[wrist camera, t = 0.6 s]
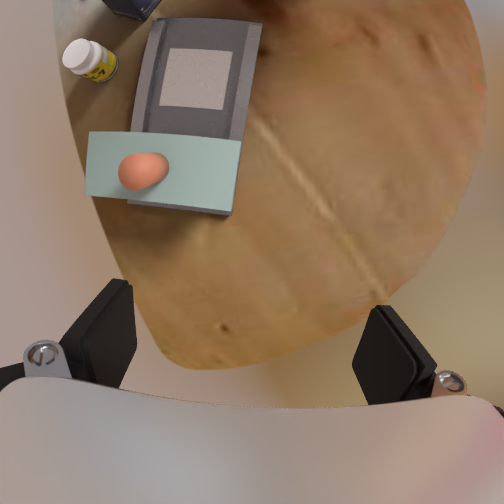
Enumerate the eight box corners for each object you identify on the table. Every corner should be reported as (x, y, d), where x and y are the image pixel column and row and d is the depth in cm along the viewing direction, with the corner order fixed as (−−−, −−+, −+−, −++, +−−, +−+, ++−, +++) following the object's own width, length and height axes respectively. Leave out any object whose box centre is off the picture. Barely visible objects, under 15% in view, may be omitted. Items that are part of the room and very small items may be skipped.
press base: (159, 22, 29) (154, 14, 26) (262, 27, 30) (263, 19, 27) (131, 201, 37) (123, 205, 35) (232, 213, 38) (231, 218, 36)
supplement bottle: (89, 86, 31) (58, 76, 23) (90, 57, 30) (60, 43, 22) (119, 78, 31) (91, 64, 23) (119, 49, 30) (93, 30, 22)
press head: (128, 134, 32) (59, 130, 17) (241, 144, 33) (240, 138, 18) (124, 182, 33) (55, 205, 19) (234, 194, 35) (227, 226, 20)
